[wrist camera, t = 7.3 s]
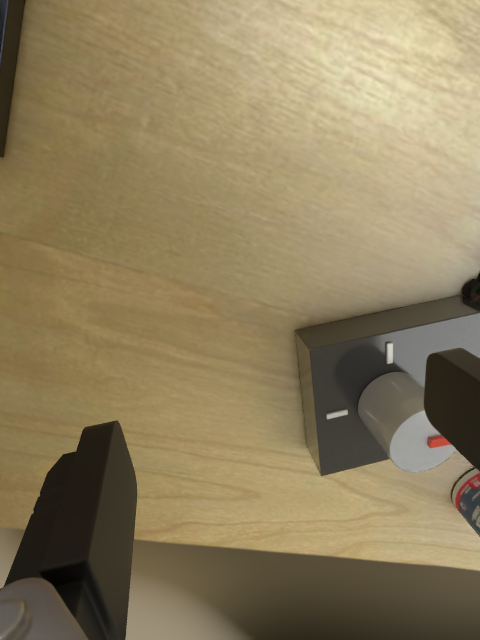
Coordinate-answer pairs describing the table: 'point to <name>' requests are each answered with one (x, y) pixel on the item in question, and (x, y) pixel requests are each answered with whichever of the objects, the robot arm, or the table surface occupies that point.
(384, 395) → the knob
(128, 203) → the table surface
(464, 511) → the pill bottle
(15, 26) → the switch block
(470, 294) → the knife
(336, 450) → the rotary switch
